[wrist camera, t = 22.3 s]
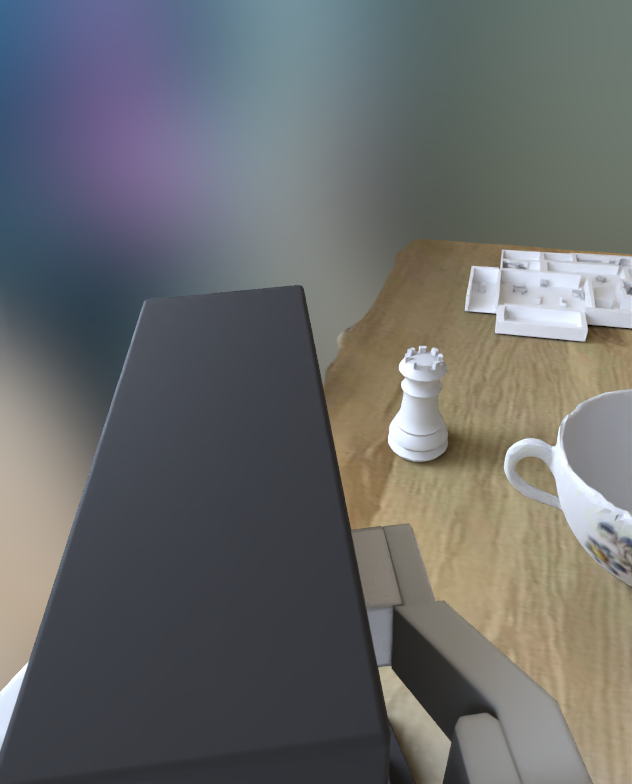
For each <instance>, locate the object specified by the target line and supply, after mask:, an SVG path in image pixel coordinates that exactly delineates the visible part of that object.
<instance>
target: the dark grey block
mask: <svg viewBox="0 0 632 784" xmlns="http://www.w3.org/2000/svg"><path fill="white" fill-rule="evenodd" d="M390 746H391V732H390V727H389V722H388V716H387V711H386V706H385V701H384V696H383V691H382V686H381V681H380V676H379V670H378V665H377V660H376V655H375V650H374V645H373V640H372V635H371V630H370V625H369V619H368V614H367V609H366V604H365V599H364V594H363V589H362V584H361V579H360V574H359V568H358V563H357V558H356V553H355V548H354V543H353V538H352V533H351V528H350V522H349V517H348V512H347V507H346V502H345V497H344V492H343V487H342V482H341V477H340V471H339V466H338V461H337V456H336V451H335V446H334V441H333V436H332V431H331V425H330V420H329V415H328V410H327V405H326V400H325V395H324V390H323V385H322V380H321V374H320V369H319V364H318V359H317V354H316V349H315V344H314V339H313V334H312V329H311V323H310V318H309V313H308V308H307V304H306V298H305V293H304V289H303V287H302V286H300V285H294V286H284V287H274V288H263V289H252V290H242V291H231V292H220V293H210V294H200V295H189V296H178V297H167V298H157V299H148V300H146V301H144V304H143V307H142V310H141V313H140V316H139V319H138V323H137V326H136V329H135V332H134V335H133V338H132V341H131V345H130V347H129V351H128V354H127V357H126V360H125V363H124V366H123V370H122V373H121V375H120V379H119V382H118V385H117V388H116V391H115V394H114V397H113V401H112V404H111V407H110V410H109V413H108V416H107V419H106V423H105V426H104V429H103V432H102V435H101V438H100V441H99V444H98V448H97V450H96V454H95V457H94V460H93V463H92V466H91V469H90V472H89V475H88V479H87V482H86V485H85V488H84V491H83V494H82V497H81V501H80V503H79V507H78V510H77V513H76V516H75V519H74V522H73V525H72V528H71V531H70V535H69V538H68V541H67V544H66V547H65V550H64V553H63V556H62V560H61V563H60V566H59V569H58V572H57V575H56V578H55V582H54V584H53V588H52V591H51V594H50V597H49V600H48V604H47V606H46V610H45V613H44V616H43V619H42V622H41V625H40V628H39V631H38V635H37V638H36V641H35V644H34V647H33V650H32V653H31V656H30V659H29V662H28V666H27V669H26V672H25V675H24V678H23V681H22V684H21V687H20V691H19V694H18V697H17V700H16V703H15V706H14V709H13V712H12V716H11V719H10V722H9V725H8V728H7V731H6V734H5V737H4V740H3V744H2V747H1V750H0V784H388V780H389V763H390Z"/></svg>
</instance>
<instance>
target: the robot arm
mask: <svg viewBox="0 0 632 784" xmlns="http://www.w3.org/2000/svg"><path fill="white" fill-rule="evenodd" d="M351 533H352V538H353V543H354V548H355V553H356V558H357V563H358V568H359V574H360V579H361V584H362V589H363V594H364V599H365V604H366V609H367V614H368V619H369V625H370V630H371V635H372V640H373V645H374V650H375V655H376V660H377V665H378V667H384V666H392V669H393V671H394V672H395V673H396V674H397V676H398V677H399V678H400V679H401V681H402V682H403V683H404V684H405V685H406V687H407V688H408V689H409V690H410V692H411V693H412V694H413V695H414V696H415V698H416V699H417V700H418V701H419V703H420V704H421V705H422V706H423V708H424V709H425V710H426V711H427V712H428V714H429V715H430V716H431V717H432V719H433V720H434V721H435V722H436V724H437V725H438V726H439V727H440V728H441V730H442V731H443V732H444V733H445V735H446V736H447V737H448V738H449V740H450V741H451V742H452V743H451V747H450V752H449V757H448V761H447V766H446V771H445V775H444V780H443V784H593V783H592V780H591V778H590V776H589V774H588V771H587V769H586V767H585V764H584V762H583V760H582V757H581V755H580V753H579V751H578V748H577V746H576V744H575V741H574V739H573V737H572V735H571V732H570V730H569V728H568V725H567V723H566V721H565V719H564V716H563V714H562V712H561V709H560V707H559V705H558V703H557V701H556V700H555V699H554V698H553V697H551V696H550V695H549V694H548V693H547V692H546V691H545V690H544V689H543V688H541V687H540V686H539V685H538V684H537V683H536V682H535V681H534V680H532V679H531V678H530V677H529V676H528V675H527V674H526V673H525V672H523V671H522V670H521V669H520V668H519V667H518V666H517V665H516V664H514V663H513V662H512V661H511V660H510V659H509V658H508V657H507V656H505V655H504V654H503V653H502V652H501V651H500V650H499V649H498V648H496V647H495V646H494V645H493V644H492V643H491V642H490V641H489V640H488V639H486V638H485V637H484V636H483V635H482V634H481V633H480V632H479V631H477V630H476V629H475V628H474V627H473V626H472V625H471V624H470V623H468V622H467V621H466V620H465V619H464V618H463V617H462V616H461V615H459V614H458V613H457V612H456V611H455V610H454V609H453V608H452V607H450V606H449V605H448V604H447V603H446V602H445V601H435V598H434V595H433V592H432V588H431V585H430V582H429V579H428V576H427V573H426V569H425V566H424V563H423V560H422V557H421V553H420V550H419V547H418V544H417V541H416V538H415V534H414V531H413V528H412V527H411V525H410V524H409V523H408V524H399V525H391V526H383V527H381V526H378V527H370V528H362V529H355V530H351ZM27 666H28V663H27V664H26V665H25V666H24V667H23V668H22V670H21V671H20V672H19V673H18V674H17V675H16V676H15V677H14V678H13V679H12V680H11V681H10V682H9V684H8V685H7V686H6V687H5V688H4V689H3V690H2V691H1V692H0V750H1V747H2V744H3V740H4V737H5V734H6V731H7V728H8V725H9V722H10V719H11V716H12V712H13V709H14V706H15V703H16V700H17V697H18V694H19V691H20V687H21V684H22V681H23V678H24V675H25V672H26V669H27Z"/></svg>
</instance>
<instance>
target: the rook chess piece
mask: <svg viewBox="0 0 632 784" xmlns="http://www.w3.org/2000/svg"><path fill="white" fill-rule="evenodd" d="M399 370H400V372H401V373H402V374H403V375H404V377H405V379H404V380H403V381H402V383H401V384H402V389H403V390H404V396H403V401H402V405H401V409H400V411H399V412H398V413H397V415H396V417H395V418H394V419H393V421H392V422H391V424H390V434H389V435H388V443H389V445H390V447H391V448H392V450H393V451H394V452H395V453H396V454H397V455H399V456H400V457H402V458H403V459H405V460H409V461H412V462H427V461H431V460H434V459H435V458H437V457H438V456H439V455H441V454H442V453H444V452H445V450H446V448H447V446H448V440H447V437H448V430H447V425H446V423H445V422H444V421H443V417H442V416H441V414H440V412H439V403H438V397H439V393H440V391H441V390H442V383H441V382H440V381H439V380H440V379H441V378H442V377H443V376H445V374H446V372H447V371H448V370H447V365H446V364H445V363H444V361H443V354H439V350H438V349H436V348H434V347H433V348H432V349H431V352H426V346H419V351H418V352H415V349H414V348H413V347H412V348H410V349H408V354H406V353H405V358H404V359H403V360H402V361H401V363H400V364H399Z"/></svg>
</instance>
